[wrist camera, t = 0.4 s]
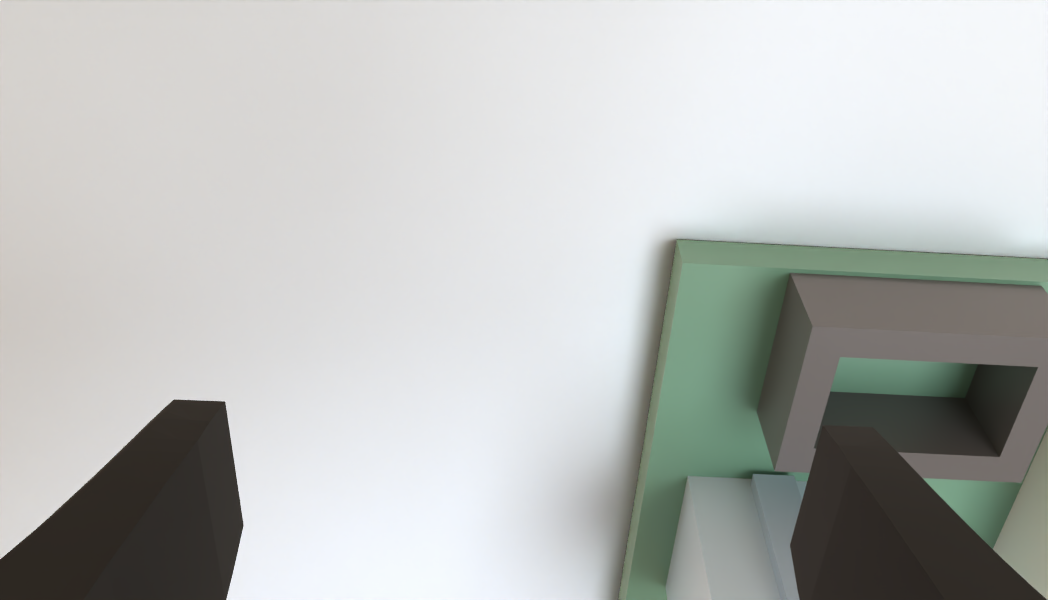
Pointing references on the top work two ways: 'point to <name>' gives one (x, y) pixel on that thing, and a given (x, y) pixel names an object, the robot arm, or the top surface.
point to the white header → (1029, 525)
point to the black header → (914, 335)
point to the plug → (736, 539)
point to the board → (739, 371)
